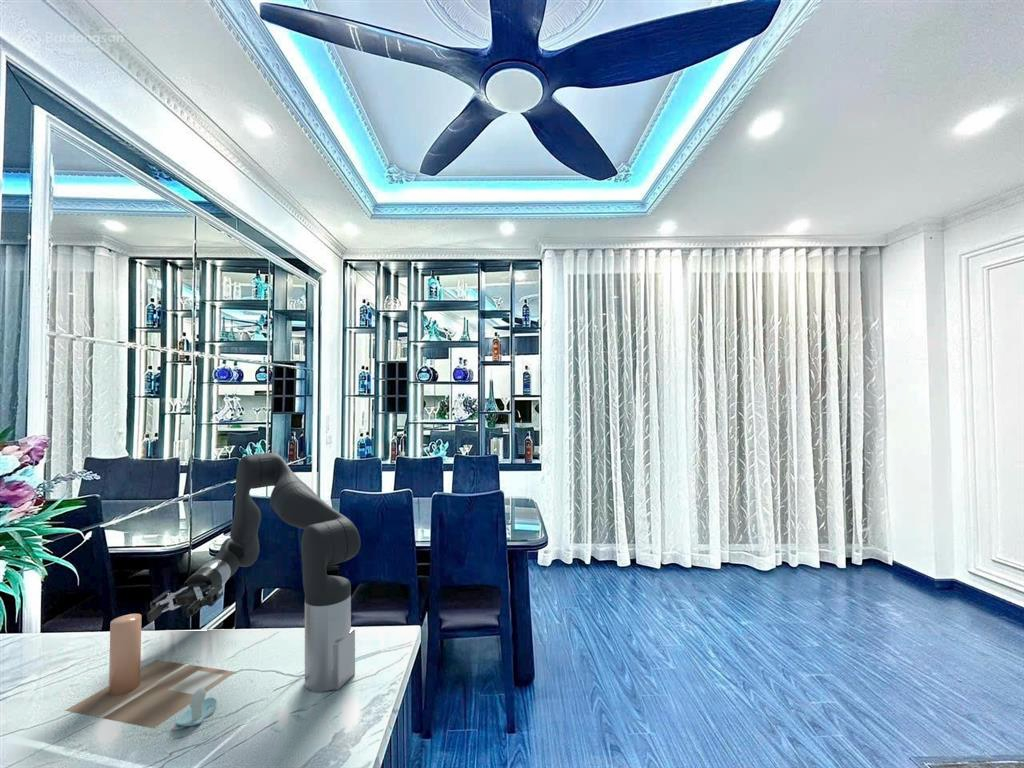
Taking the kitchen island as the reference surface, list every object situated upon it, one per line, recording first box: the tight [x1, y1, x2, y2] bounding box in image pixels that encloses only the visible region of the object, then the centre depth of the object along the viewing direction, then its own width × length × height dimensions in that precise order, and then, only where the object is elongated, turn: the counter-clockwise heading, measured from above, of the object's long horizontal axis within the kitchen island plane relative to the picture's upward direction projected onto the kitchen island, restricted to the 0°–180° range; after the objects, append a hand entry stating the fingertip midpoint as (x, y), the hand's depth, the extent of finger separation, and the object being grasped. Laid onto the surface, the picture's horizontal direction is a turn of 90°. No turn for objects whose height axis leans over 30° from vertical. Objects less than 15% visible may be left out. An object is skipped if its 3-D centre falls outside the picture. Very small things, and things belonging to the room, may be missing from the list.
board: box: [64, 659, 236, 729], centre depth 95 cm, size 22×18×1 cm
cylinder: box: [108, 613, 142, 695], centre depth 96 cm, size 5×5×14 cm
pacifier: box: [171, 687, 218, 730], centre depth 87 cm, size 7×6×6 cm
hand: (168, 616), depth 107 cm, fingers open, 8 cm apart
